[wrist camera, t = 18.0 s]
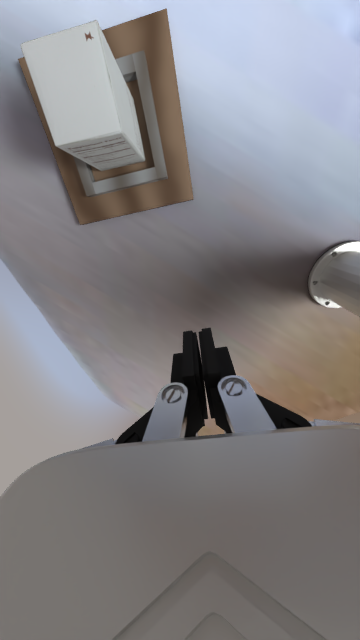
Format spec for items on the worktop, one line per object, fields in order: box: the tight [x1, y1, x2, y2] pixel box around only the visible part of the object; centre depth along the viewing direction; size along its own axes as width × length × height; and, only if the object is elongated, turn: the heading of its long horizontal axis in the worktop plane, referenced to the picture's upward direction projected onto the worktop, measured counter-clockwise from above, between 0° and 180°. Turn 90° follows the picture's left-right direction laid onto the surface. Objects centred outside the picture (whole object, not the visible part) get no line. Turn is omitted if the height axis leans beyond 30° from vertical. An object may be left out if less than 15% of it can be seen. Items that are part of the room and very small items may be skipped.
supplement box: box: [21, 20, 145, 171], centre depth 24 cm, size 7×7×13 cm
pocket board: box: [18, 8, 193, 225], centre depth 29 cm, size 20×20×3 cm
